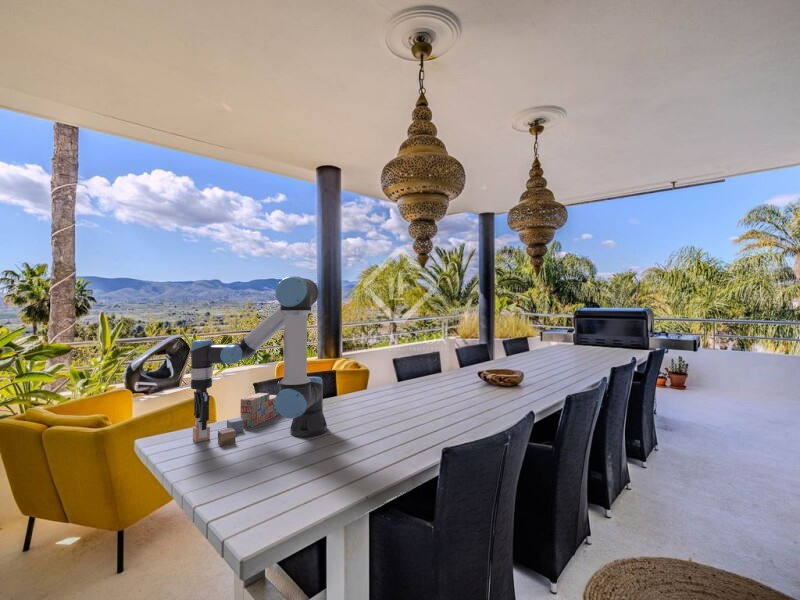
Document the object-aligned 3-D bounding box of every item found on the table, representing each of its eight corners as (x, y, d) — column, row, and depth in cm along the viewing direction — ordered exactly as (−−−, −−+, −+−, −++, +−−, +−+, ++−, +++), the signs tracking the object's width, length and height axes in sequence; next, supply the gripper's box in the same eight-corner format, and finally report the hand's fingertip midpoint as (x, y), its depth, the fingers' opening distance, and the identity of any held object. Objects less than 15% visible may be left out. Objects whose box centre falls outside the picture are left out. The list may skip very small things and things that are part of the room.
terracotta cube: (209, 439, 145) (209, 426, 145) (195, 442, 141) (195, 429, 142) (206, 436, 148) (206, 423, 149) (192, 439, 145) (192, 426, 145)
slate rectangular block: (243, 431, 154) (243, 420, 154) (230, 434, 150) (230, 422, 150) (239, 429, 157) (239, 417, 157) (227, 431, 154) (227, 419, 154)
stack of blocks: (270, 413, 182) (270, 388, 182) (281, 413, 180) (281, 389, 180) (240, 426, 161) (240, 398, 161) (251, 427, 159) (251, 399, 160)
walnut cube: (235, 443, 140) (235, 430, 140) (221, 446, 137) (221, 433, 137) (231, 440, 144) (231, 427, 144) (217, 443, 140) (217, 430, 140)
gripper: (185, 376, 150) (185, 432, 149) (197, 382, 136) (196, 444, 136) (205, 374, 155) (205, 428, 154) (218, 379, 141) (218, 439, 141)
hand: (201, 435), depth 145 cm, fingers closed on terracotta cube, 5 cm apart
